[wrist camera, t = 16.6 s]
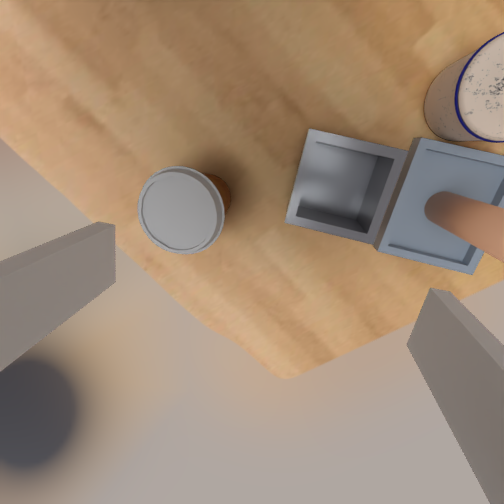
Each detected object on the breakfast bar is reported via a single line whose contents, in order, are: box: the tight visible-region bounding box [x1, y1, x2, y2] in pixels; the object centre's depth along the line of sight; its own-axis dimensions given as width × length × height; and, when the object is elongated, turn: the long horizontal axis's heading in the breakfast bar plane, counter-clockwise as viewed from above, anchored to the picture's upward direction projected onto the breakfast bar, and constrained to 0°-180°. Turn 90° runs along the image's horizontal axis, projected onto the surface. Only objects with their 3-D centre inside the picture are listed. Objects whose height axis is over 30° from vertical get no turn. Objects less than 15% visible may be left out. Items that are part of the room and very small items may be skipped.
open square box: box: [285, 128, 408, 245], centre depth 36 cm, size 10×10×8 cm
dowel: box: [424, 191, 504, 263], centre depth 31 cm, size 4×4×15 cm
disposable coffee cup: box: [138, 166, 231, 254], centre depth 37 cm, size 10×10×12 cm
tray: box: [373, 137, 504, 275], centre depth 38 cm, size 14×12×2 cm
